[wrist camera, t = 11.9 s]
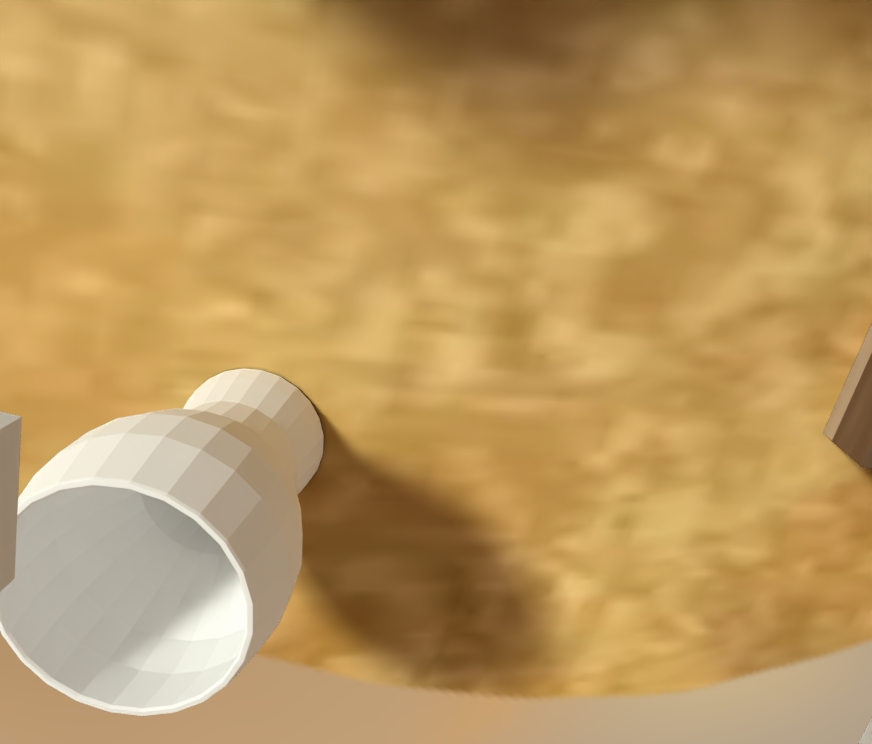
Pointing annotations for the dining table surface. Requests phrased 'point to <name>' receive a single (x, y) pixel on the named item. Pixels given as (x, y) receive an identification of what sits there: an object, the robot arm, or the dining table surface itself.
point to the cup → (164, 546)
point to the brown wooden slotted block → (855, 410)
